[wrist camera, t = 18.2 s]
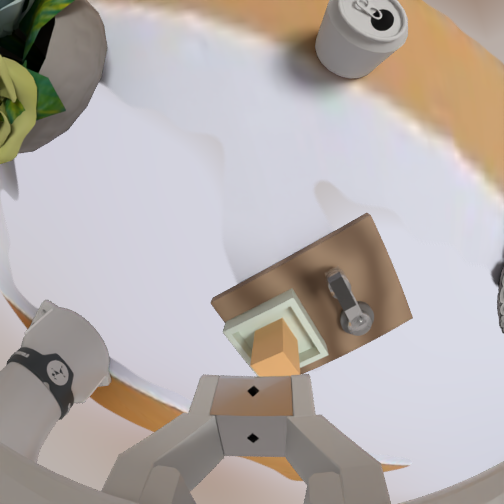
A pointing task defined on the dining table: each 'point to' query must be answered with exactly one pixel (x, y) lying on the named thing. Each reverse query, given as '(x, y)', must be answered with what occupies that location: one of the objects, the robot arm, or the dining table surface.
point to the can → (360, 35)
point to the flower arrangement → (46, 69)
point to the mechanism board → (317, 291)
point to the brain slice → (501, 301)
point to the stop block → (275, 351)
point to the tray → (273, 310)
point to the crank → (348, 302)
